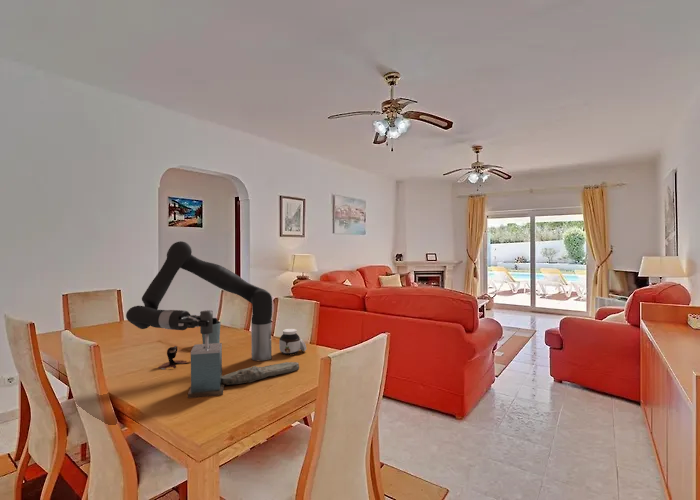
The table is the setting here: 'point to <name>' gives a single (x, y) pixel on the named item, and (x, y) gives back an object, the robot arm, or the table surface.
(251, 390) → the table surface
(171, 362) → the dark brown curved piece
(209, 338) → the drinking glass
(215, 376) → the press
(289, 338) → the spread jar
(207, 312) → the lever
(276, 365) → the long grey stone
